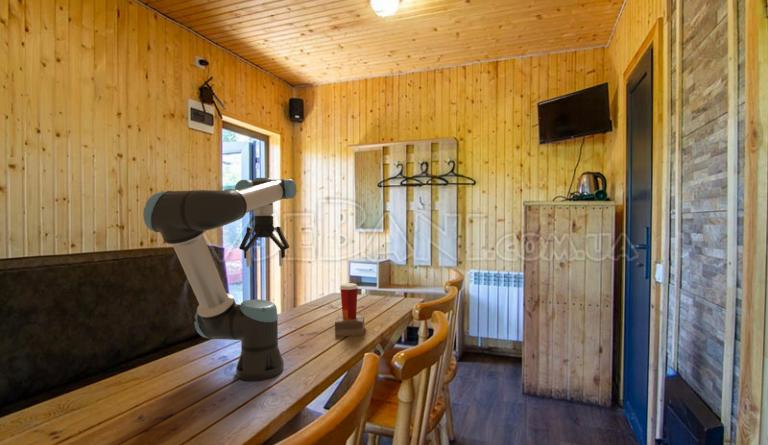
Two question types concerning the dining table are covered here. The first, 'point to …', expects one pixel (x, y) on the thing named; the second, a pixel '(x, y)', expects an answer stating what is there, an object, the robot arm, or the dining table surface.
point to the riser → (349, 326)
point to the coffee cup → (349, 300)
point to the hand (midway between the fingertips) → (264, 266)
